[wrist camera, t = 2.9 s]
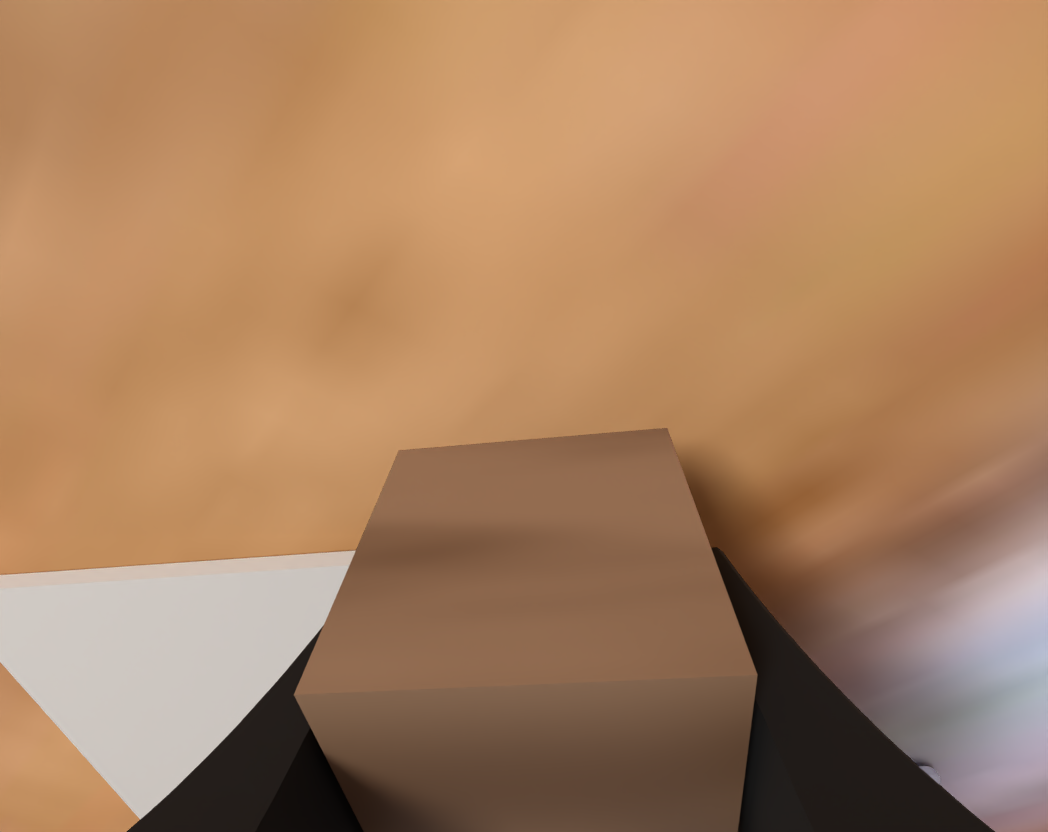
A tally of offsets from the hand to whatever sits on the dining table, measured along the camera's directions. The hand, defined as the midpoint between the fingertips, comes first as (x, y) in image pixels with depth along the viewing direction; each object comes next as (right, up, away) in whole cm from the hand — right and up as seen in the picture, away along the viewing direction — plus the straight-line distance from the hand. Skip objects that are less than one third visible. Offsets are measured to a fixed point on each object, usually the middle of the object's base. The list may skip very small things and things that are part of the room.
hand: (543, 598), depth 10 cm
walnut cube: (0, +1, +1) cm, 2 cm away
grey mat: (-11, -7, +10) cm, 16 cm away
